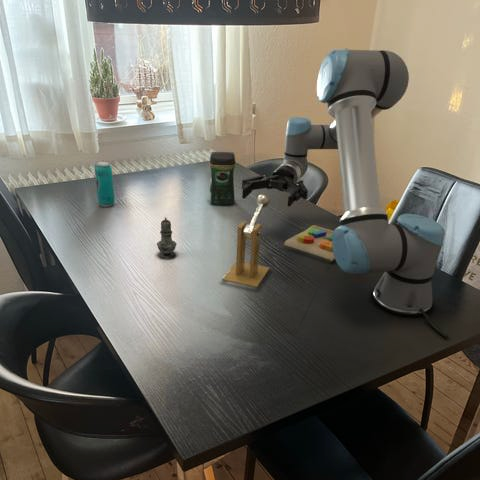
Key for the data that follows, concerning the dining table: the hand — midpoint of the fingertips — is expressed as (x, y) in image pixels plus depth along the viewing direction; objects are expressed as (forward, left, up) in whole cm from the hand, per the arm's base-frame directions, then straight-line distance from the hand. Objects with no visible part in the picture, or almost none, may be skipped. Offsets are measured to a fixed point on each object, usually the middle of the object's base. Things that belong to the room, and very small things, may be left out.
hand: (266, 197), depth 141 cm
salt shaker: (+18, +22, -19) cm, 34 cm away
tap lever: (-4, +7, -4) cm, 9 cm away
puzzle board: (-6, -21, -19) cm, 29 cm away
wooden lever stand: (-7, +12, -19) cm, 23 cm away
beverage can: (+64, +16, -19) cm, 69 cm away
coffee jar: (+42, -20, -19) cm, 51 cm away
